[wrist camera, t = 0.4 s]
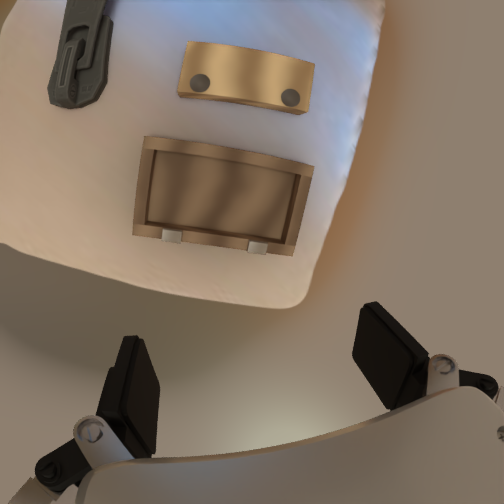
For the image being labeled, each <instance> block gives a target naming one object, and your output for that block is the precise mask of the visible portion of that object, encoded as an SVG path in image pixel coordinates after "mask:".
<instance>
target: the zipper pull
mask: <svg viewBox="0 0 504 504" xmlns="http://www.w3.org/2000/svg"><path fill="white" fill-rule="evenodd" d="M106 3H107V0H67V4H66V9H65V14H64V19H63V25H62V31H61V35H60V40H59V46H58V51H57V58H56V61H55V64H54V67H53V70H52V74H51V77H50V80H49V84H48V87H47V89H48V94H49V100H50V104H53V105H56V106H60V107H63V108H67V109H73V108H82V107H84V106H86V105H88V104H91V103H93V102H95V101H97V100H98V99H99V97H100V95H101V93H102V91H103V89H104V87H105V86H106V84H107V75H108V61H109V52H110V44H111V37H112V30H113V21H112V20H111V19H110V17H108V16H105V15H103V11H104V8H105V6H106Z"/></svg>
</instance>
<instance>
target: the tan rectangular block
mask: <svg viewBox="0 0 504 504" xmlns="http://www.w3.org/2000/svg"><path fill="white" fill-rule="evenodd" d="M314 67H315V64H314V63H310V62H307V61H303V60H300V59H296V58H292V57H288V56H284V55H280V54H275V53H271V52H266V51H261V50H255V49H250V48H244V47H238V46H231V45H223V44H215V43H205V42H194V41H188V43H187V47H186V51H185V56H184V60H183V65H182V70H181V74H180V79H179V84H178V90H177V92H178V95H179V97H185V98H196V99H206V100H215V101H223V102H231V103H238V104H244V105H251V106H256V107H262V108H267V109H273V110H278V111H283V112H287V113H292V114H296V115H300V114H303V113H307V112H308V109H309V102H310V95H311V88H312V81H313V74H314Z"/></svg>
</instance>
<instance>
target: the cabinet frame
mask: <svg viewBox="0 0 504 504" xmlns="http://www.w3.org/2000/svg"><path fill="white" fill-rule="evenodd" d="M313 171H314V166H311V165H307V164H303V163H299V162H295V161H291V160H287V159H283V158H278V157H274V156H269V155H264V154H260V153H255V152H250V151H245V150H239V149H234V148H228V147H223V146H217V145H210V144H204V143H197V142H190V141H183V140H175V139H167V138H158V137H149V136H144V142H143V147H142V154H141V160H140V167H139V174H138V181H137V190H136V198H135V208H134V219H133V232H132V235H136V236H144V237H151V238H159V239H162V241H165V242H173V243H181V242H189V243H196V244H204V245H211V246H219V247H226V248H233V249H241V250H247V252H248V253H256V254H263V255H266V253H271V254H278V255H286V256H293V253H294V249H295V245H296V241H297V237H298V233H299V229H300V225H301V221H302V217H303V213H304V209H305V205H306V201H307V197H308V192H309V188H310V184H311V179H312V175H313Z"/></svg>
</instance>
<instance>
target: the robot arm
mask: <svg viewBox="0 0 504 504" xmlns="http://www.w3.org/2000/svg"><path fill="white" fill-rule="evenodd" d="M428 354H429V353H428V352H427V351H426V350H425V349H424V348H423V347H422V346H421V345H420V344H419V343H418V342H417V341H416V340H415V339H414V338H413V337H412V336H411V335H410V333H409V332H407V331H406V329H405V328H403V326H401V325H400V323H399V322H398V321H397V320H396V319H394V317H393V316H391V315H390V314H389V313H388V312H387V311H386V310H385V309H384V308H383V307H382V306H381V305H380V304H379V303H378V302H371V303H366V304H364V306H363V308H361V309H360V315H359V320H358V326H357V331H356V337H355V342H354V347H353V351H352V356H353V359H354V361H355V363H356V364H357V366H358V367H359V368H360V370H361V371H362V373H363V374H364V376H365V377H366V379H367V380H368V382H369V383H370V385H371V386H372V388H373V389H374V391H375V392H376V394H377V395H378V397H379V398H380V400H381V401H382V403H383V405H384V406H385V407H386V409H390V410H391V411H390V412H387V413H385V414H382V415H380V416H378V417H375V418H372V419H369V420H367V421H364V422H361V423H358V424H355V425H352V426H349V427H346V428H343V429H340V430H337V431H333V432H330V433H327V434H323V435H319V436H316V437H312V438H308V439H304V440H300V441H296V442H291V443H287V444H282V445H277V446H272V447H267V448H261V449H255V450H249V451H242V452H235V453H226V454H216V455H204V456H190V457H169V458H167V457H166V458H151V456H152V454H155V452H156V435H157V421H158V408H159V397H160V385H159V381H158V379H157V376H156V374H155V371H154V368H153V366H152V363H151V360H150V357H149V354H148V352H147V349H146V346H145V343H144V340H143V339H139V337H138V336H137V335H136V336H124V338H123V341H122V344H121V347H120V350H119V353H118V356H117V359H116V363H115V366H114V367H111V368H110V369H109V371H108V374H107V377H106V380H105V384H104V387H103V391H102V394H101V398H100V401H99V405H98V408H97V412H96V416H94V415H90V416H86V417H83V418H82V419H80V420H79V421H78V422H77V423H76V424H75V426H74V429H73V436H74V438H73V439H72V440H70V441H69V442H67V443H65V444H64V445H62V446H61V447H59V448H57V449H56V450H54V451H52V452H51V453H49V454H47V455H46V456H44V457H42V458H41V459H40V460H39V461H38V462H37V464H36V467H35V475H36V476H35V477H34V479H32V478H31V477H30V478H29V479H28V480H27V482H26V483H25V484H24V485H23V486H22V487H21V488H20V490H19V491H18V492H17V493H16V494H15V495H14V496H13V497H12V499H11V500H10V501H9V503H8V504H504V387H503V386H501V387H500V388H498V384H497V382H496V380H495V379H494V378H492V377H491V376H489V375H485V374H480V373H474V372H469V371H464V370H459V368H458V364H457V362H456V361H455V360H454V359H453V358H452V357H450V356H448V355H445V354H438V355H434V356H433V357H431V359H430V358H429V357H428Z"/></svg>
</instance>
